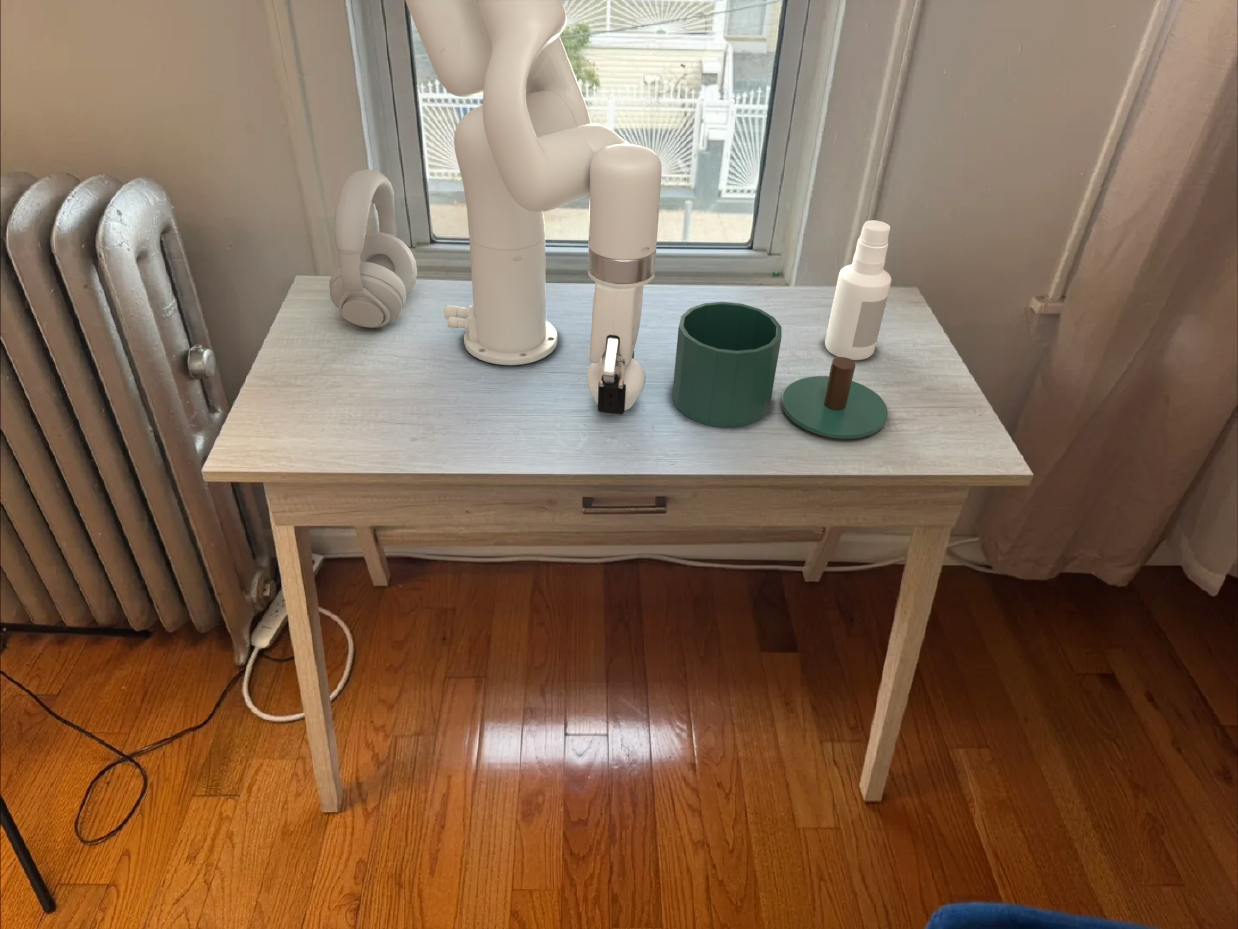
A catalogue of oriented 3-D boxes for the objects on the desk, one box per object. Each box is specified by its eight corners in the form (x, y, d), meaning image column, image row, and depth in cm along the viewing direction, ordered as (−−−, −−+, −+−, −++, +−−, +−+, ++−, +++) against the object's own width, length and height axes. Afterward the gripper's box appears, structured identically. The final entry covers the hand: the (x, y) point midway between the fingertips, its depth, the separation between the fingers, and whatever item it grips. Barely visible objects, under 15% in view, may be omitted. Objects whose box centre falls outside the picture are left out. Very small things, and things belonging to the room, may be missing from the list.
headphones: (398, 349, 123) (381, 204, 110) (322, 344, 123) (296, 199, 111) (429, 285, 137) (417, 151, 125) (361, 280, 137) (342, 147, 125)
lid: (780, 436, 111) (790, 385, 106) (780, 378, 121) (789, 330, 116) (890, 448, 109) (904, 398, 105) (881, 389, 120) (893, 341, 115)
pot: (668, 421, 112) (675, 346, 106) (677, 368, 122) (683, 297, 115) (768, 432, 111) (781, 357, 105) (769, 378, 121) (781, 307, 114)
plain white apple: (640, 423, 111) (644, 366, 107) (582, 416, 112) (583, 360, 107) (646, 391, 117) (650, 336, 112) (591, 386, 118) (592, 331, 113)
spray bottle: (874, 364, 125) (905, 239, 114) (823, 357, 125) (849, 232, 114) (873, 339, 130) (903, 218, 119) (824, 333, 131) (849, 211, 120)
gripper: (600, 226, 110) (596, 355, 121) (575, 293, 96) (573, 431, 107) (662, 232, 109) (653, 361, 120) (646, 300, 96) (637, 438, 106)
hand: (615, 393), depth 114 cm, fingers closed on plain white apple, 7 cm apart
